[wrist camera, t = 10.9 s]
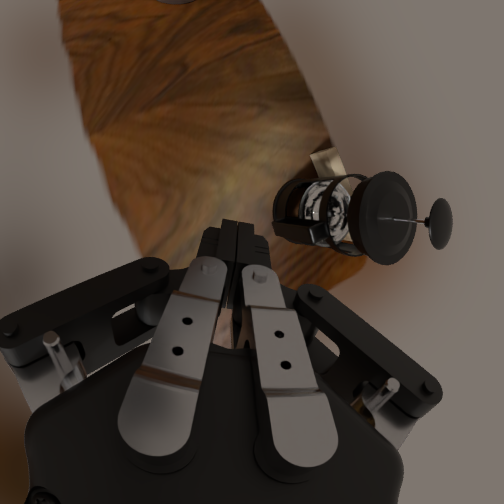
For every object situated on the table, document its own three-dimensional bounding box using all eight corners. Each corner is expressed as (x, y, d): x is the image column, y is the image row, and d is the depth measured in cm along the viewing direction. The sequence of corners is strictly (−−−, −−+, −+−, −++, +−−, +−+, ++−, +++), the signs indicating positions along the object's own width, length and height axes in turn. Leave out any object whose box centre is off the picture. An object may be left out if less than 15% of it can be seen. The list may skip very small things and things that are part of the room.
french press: (321, 170, 39) (460, 156, 18) (337, 228, 42) (471, 252, 21) (252, 194, 36) (389, 185, 15) (273, 258, 39) (406, 314, 18)
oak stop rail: (309, 154, 38) (325, 151, 35) (319, 150, 39) (335, 146, 35) (341, 239, 43) (357, 242, 39) (349, 233, 43) (366, 236, 39)
